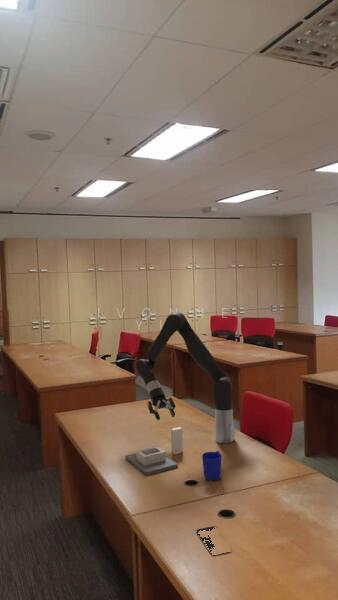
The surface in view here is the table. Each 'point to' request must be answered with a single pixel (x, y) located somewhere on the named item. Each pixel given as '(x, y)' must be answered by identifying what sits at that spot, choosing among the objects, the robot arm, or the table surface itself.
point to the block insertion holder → (151, 460)
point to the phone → (207, 538)
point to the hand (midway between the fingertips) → (166, 418)
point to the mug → (212, 465)
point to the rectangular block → (176, 440)
